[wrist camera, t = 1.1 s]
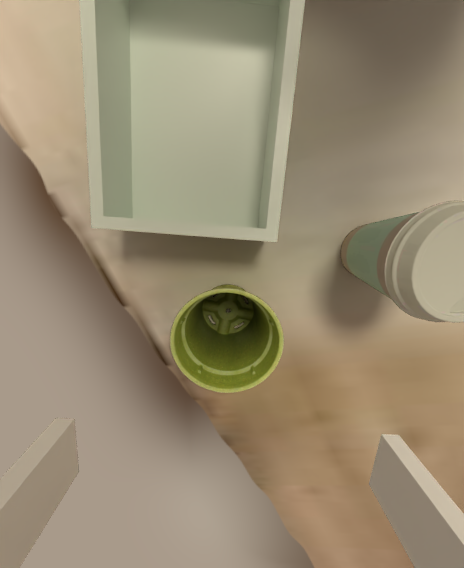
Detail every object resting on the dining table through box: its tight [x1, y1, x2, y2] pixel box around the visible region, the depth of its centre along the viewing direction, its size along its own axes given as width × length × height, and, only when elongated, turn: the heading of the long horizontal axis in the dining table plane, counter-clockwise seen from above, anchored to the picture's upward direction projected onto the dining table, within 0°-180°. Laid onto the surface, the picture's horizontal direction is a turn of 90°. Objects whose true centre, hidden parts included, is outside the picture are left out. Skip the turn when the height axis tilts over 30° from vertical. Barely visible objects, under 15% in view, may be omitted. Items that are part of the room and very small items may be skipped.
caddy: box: [79, 0, 305, 242], centre depth 21 cm, size 21×15×7 cm
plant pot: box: [170, 285, 284, 393], centre depth 24 cm, size 9×9×9 cm
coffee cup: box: [341, 201, 464, 323], centre depth 21 cm, size 8×8×12 cm
